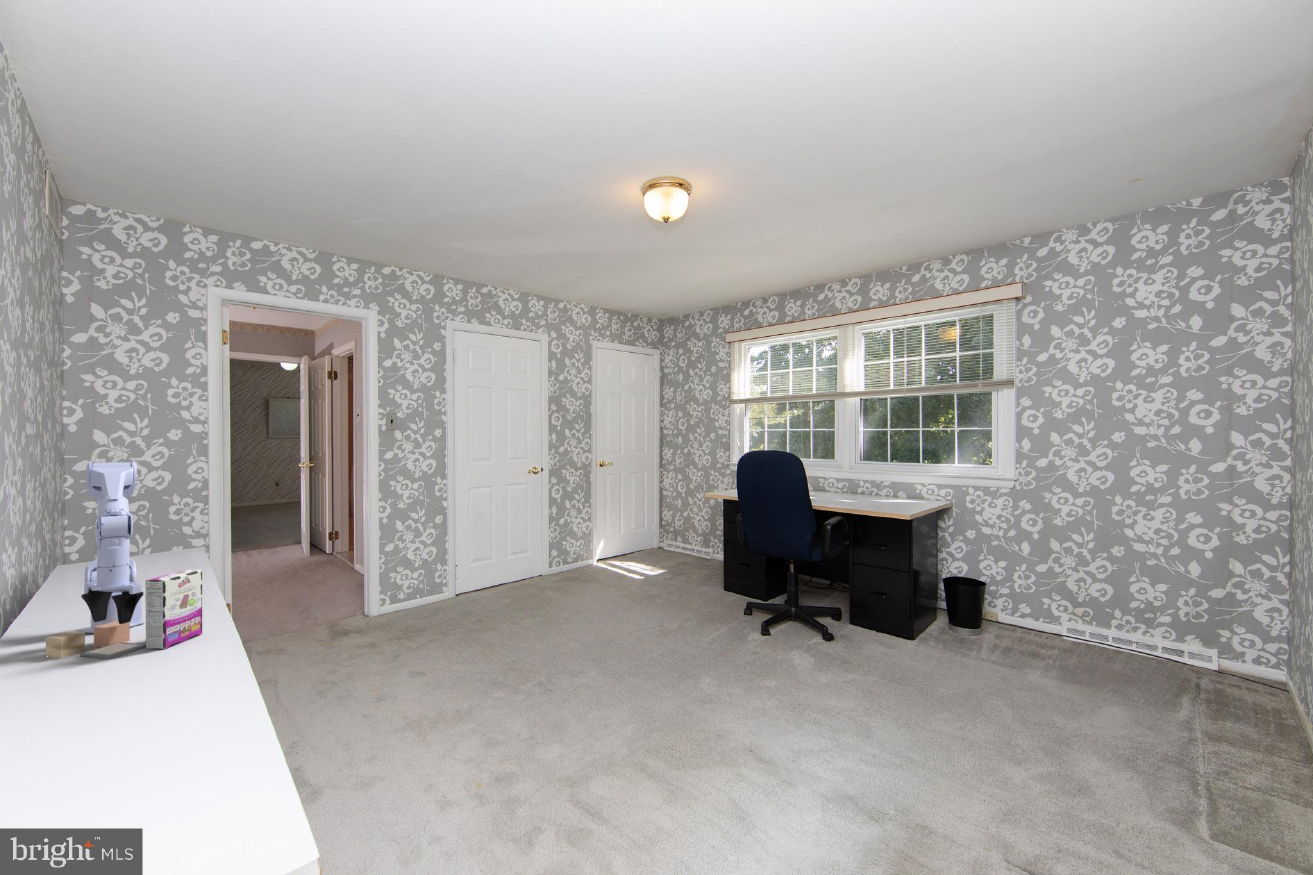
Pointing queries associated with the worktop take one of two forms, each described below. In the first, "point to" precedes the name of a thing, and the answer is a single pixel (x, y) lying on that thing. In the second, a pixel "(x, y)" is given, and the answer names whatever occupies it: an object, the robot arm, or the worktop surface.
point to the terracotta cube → (111, 633)
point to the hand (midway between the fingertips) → (112, 621)
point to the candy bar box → (173, 608)
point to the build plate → (113, 650)
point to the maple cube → (65, 644)
